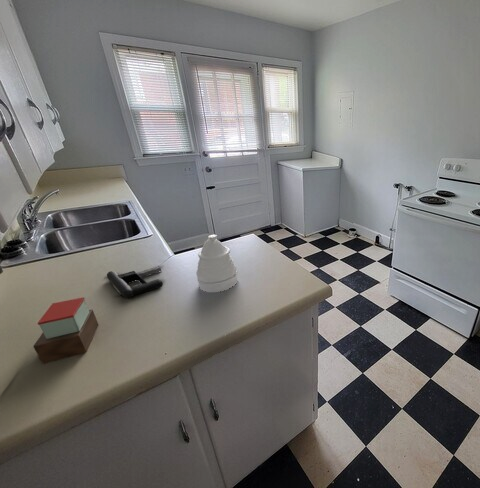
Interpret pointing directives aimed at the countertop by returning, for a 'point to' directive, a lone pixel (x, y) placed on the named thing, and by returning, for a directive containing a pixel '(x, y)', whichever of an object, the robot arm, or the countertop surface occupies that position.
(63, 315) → the mint and red box
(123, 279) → the door handle
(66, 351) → the stand
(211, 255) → the honey pot
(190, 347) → the countertop surface
